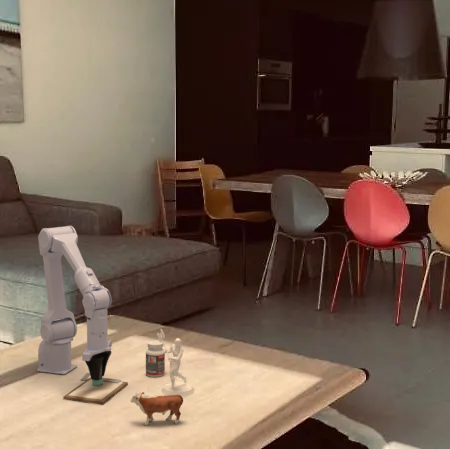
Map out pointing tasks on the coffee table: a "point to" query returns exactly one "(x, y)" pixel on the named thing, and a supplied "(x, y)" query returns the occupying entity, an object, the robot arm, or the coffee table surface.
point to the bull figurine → (158, 405)
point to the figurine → (175, 370)
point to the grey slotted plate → (86, 377)
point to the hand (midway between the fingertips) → (97, 377)
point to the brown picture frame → (96, 391)
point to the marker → (100, 381)
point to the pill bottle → (155, 359)
